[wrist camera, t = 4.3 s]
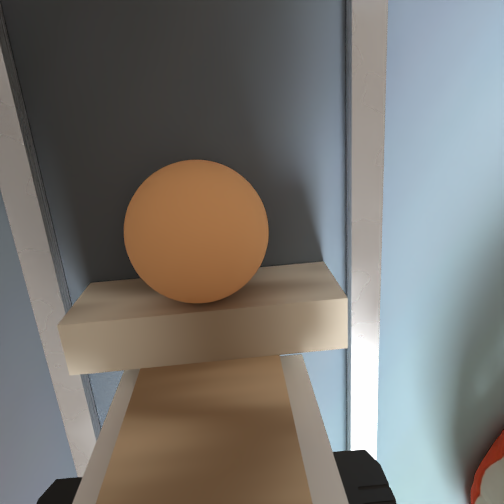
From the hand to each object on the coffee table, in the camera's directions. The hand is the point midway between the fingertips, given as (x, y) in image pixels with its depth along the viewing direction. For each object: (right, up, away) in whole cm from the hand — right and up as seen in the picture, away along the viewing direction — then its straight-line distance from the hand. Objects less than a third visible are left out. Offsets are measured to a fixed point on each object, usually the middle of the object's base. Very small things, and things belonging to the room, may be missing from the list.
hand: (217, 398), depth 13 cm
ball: (0, +5, -2) cm, 6 cm away
